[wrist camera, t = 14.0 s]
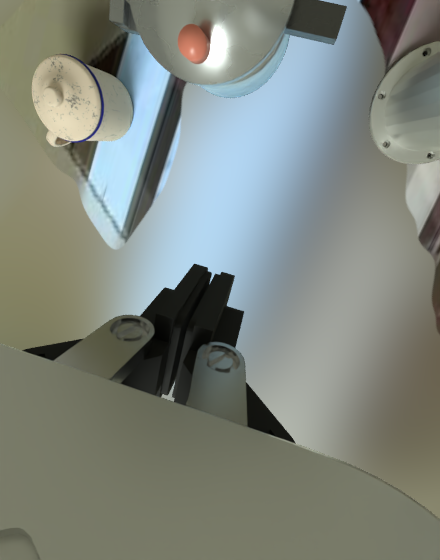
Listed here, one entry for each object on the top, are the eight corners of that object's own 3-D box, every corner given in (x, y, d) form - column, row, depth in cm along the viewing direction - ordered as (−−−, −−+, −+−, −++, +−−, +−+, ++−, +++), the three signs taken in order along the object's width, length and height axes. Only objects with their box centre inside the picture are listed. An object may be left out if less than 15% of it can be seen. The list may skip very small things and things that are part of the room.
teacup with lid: (103, 54, 40) (39, 22, 30) (148, 112, 42) (103, 101, 32) (55, 119, 45) (-13, 111, 35) (98, 168, 47) (45, 175, 37)
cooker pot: (352, -24, 33) (385, -107, 22) (307, 118, 39) (315, 107, 28) (169, -61, 34) (117, -156, 24) (154, 80, 40) (107, 56, 30)
